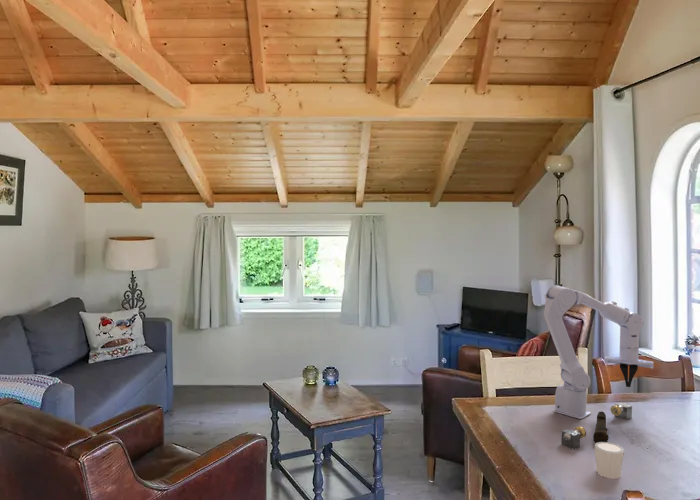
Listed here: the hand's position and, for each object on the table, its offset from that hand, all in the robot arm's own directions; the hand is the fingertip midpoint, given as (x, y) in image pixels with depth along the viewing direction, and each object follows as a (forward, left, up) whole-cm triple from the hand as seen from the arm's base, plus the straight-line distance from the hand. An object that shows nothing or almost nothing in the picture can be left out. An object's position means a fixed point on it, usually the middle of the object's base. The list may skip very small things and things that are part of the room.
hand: (628, 386), depth 176 cm
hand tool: (0, -25, -10) cm, 26 cm away
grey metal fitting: (-1, -39, -9) cm, 40 cm away
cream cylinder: (+13, -50, -10) cm, 53 cm away
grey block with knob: (0, -6, -9) cm, 11 cm away
